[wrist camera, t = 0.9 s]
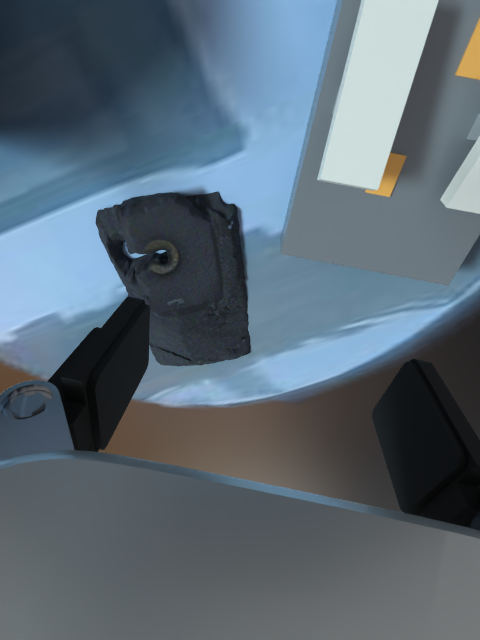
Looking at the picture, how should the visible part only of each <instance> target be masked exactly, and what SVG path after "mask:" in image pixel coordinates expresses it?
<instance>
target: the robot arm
mask: <svg viewBox="0 0 480 640" xmlns="http://www.w3.org/2000/svg"><path fill="white" fill-rule="evenodd" d="M149 330H150V306H149V305H147V304H146V303H145V300H143V299H138V298H134V297H127V298H126V299H125V300H124V301H123V302H122V304H121V305H120V306H119V307H118V308H117V310H116V311H115V312H114V313H113V314H112V316H111V317H110V318H109V319H108V320H107V322H106V323H105V324H104V325H103V327H102V328H98V327H97V328H94V329H93V330H92V331H91V332H90V333H89V334H88V335H87V336H86V338H85V339H84V340H83V341H82V342H81V343H80V344H79V346H78V347H77V348H76V349H75V350H74V351H73V353H72V354H71V355H70V356H69V357H68V358H67V359H66V361H65V362H64V363H63V364H62V365H61V366H60V368H59V369H58V370H57V371H56V372H55V373H54V374H53V376H52V377H51V378H50V379H49V380H48V381H43V380H32V381H26V382H22V383H19V384H16V385H14V386H12V387H10V388H8V389H7V390H5V391H4V392H3V393H2V394H1V395H0V640H480V440H479V439H478V437H477V436H476V434H475V432H474V430H473V429H472V427H471V426H470V424H469V422H468V421H467V419H466V417H465V416H464V414H463V413H462V411H461V409H460V408H459V406H458V405H457V403H456V401H455V400H454V398H453V396H452V395H451V393H450V392H449V390H448V388H447V387H446V385H445V384H444V382H443V380H442V379H441V377H440V376H439V374H438V372H437V371H436V369H435V367H434V366H433V364H432V363H430V362H426V361H421V360H417V359H412V360H410V361H409V362H406V363H404V365H403V366H402V368H401V369H400V371H399V372H398V374H397V375H396V376H395V378H394V379H393V381H392V383H391V384H390V385H389V387H388V388H387V390H386V391H385V393H384V394H383V396H382V397H381V399H380V400H379V402H378V403H377V405H376V406H375V408H374V409H373V412H372V419H373V422H374V426H375V429H376V432H377V435H378V438H379V441H380V445H381V448H382V451H383V455H384V458H385V461H386V464H387V468H388V471H389V474H390V477H391V480H392V484H393V487H394V490H395V493H396V497H397V500H398V503H399V506H400V509H401V510H402V511H403V512H404V513H401V512H397V511H392V510H387V509H383V508H378V507H373V506H369V505H363V504H359V503H354V502H350V501H345V500H340V499H336V498H330V497H325V496H321V495H316V494H312V493H307V492H302V491H297V490H292V489H288V488H283V487H278V486H273V485H268V484H263V483H258V482H253V481H249V480H244V479H239V478H234V477H229V476H224V475H219V474H214V473H209V472H205V471H199V470H195V469H189V468H184V467H179V466H175V465H170V464H164V463H159V462H153V461H148V460H143V459H137V458H132V457H127V456H121V455H115V454H108V453H100V452H98V450H99V449H101V450H104V449H105V448H106V446H107V445H108V443H109V441H110V439H111V437H112V435H113V433H114V431H115V429H116V427H117V425H118V423H119V421H120V420H121V418H122V416H123V414H124V412H125V410H126V408H127V406H128V404H129V402H130V400H131V398H132V396H133V395H134V393H135V391H136V389H137V387H138V385H139V383H140V381H141V379H142V377H143V375H144V373H145V371H146V369H147V366H148V362H149Z"/></svg>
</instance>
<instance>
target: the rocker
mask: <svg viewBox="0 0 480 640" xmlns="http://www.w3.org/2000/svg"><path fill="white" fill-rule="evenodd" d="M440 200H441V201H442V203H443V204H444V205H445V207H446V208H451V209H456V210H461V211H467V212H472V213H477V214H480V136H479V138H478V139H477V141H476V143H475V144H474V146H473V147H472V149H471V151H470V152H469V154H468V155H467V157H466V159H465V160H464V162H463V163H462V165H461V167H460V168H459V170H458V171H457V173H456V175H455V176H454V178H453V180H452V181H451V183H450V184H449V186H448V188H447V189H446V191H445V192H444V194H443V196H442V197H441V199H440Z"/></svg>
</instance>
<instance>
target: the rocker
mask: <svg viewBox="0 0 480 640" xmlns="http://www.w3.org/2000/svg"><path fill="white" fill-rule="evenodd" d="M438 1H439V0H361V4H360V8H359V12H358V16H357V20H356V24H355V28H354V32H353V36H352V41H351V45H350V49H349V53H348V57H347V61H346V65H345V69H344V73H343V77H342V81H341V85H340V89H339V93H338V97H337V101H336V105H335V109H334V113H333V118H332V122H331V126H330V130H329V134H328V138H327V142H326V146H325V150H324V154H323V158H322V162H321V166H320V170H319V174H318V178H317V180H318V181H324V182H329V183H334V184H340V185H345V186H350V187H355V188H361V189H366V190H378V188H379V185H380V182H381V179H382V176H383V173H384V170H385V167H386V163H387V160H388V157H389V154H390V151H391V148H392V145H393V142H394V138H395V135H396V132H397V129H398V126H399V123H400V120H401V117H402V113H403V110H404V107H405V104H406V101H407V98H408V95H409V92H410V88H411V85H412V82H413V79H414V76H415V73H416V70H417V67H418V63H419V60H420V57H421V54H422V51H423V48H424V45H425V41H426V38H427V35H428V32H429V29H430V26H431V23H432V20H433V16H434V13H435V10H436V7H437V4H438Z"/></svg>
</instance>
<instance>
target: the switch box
mask: <svg viewBox="0 0 480 640" xmlns="http://www.w3.org/2000/svg"><path fill="white" fill-rule="evenodd" d="M360 4H361V0H337V4H336V8H335V12H334V17H333V21H332V25H331V29H330V33H329V38H328V42H327V46H326V50H325V54H324V59H323V63H322V67H321V71H320V75H319V80H318V84H317V88H316V92H315V97H314V101H313V105H312V109H311V113H310V118H309V122H308V126H307V130H306V134H305V139H304V143H303V147H302V151H301V155H300V160H299V164H298V168H297V172H296V176H295V181H294V185H293V189H292V193H291V197H290V202H289V206H288V210H287V214H286V219H285V223H284V227H283V231H282V235H281V254H285V255H290V256H295V257H301V258H306V259H311V260H316V261H322V262H327V263H332V264H338V265H343V266H348V267H353V268H359V269H364V270H369V271H374V272H380V273H385V274H390V275H396V276H401V277H406V278H411V279H417V280H422V281H427V282H433V283H438V284H443V285H448V286H449V284H450V282H451V281H452V279H453V277H454V276H455V274H456V273H457V271H458V269H459V268H460V266H461V264H462V263H463V261H464V259H465V258H466V256H467V255H468V253H469V251H470V250H471V248H472V246H473V245H474V243H475V241H476V240H477V238H478V237H479V235H480V214H477V213H472V212H467V211H461V210H456V209H451V208H446V207H445V205H444V204H443V203H442V201H441V200H440V199H441V197H442V196H443V194H444V192H445V191H446V189H447V188H448V186H449V184H450V183H451V181H452V180H453V178H454V176H455V175H456V173H457V171H458V170H459V168H460V167H461V165H462V163H463V162H464V160H465V159H466V157H467V155H468V154H469V152H470V151H471V149H472V147H473V146H474V144H475V143H476V141H477V139H478V138H479V136H480V0H439V1H438V4H437V7H436V10H435V13H434V16H433V20H432V23H431V26H430V29H429V32H428V35H427V38H426V41H425V45H424V48H423V51H422V54H421V57H420V60H419V63H418V67H417V70H416V73H415V76H414V79H413V82H412V85H411V88H410V92H409V95H408V98H407V101H406V104H405V107H404V110H403V113H402V117H401V120H400V123H399V126H398V129H397V132H396V135H395V138H394V142H393V145H392V148H391V151H390V154H389V157H388V160H387V163H386V167H385V170H384V173H383V176H382V179H381V182H380V185H379V188H378V190H366V189H361V188H355V187H350V186H345V185H340V184H334V183H329V182H324V181H318V180H317V178H318V174H319V170H320V166H321V162H322V158H323V154H324V150H325V146H326V142H327V138H328V134H329V130H330V126H331V122H332V118H333V113H334V109H335V105H336V101H337V97H338V93H339V89H340V85H341V81H342V77H343V73H344V69H345V65H346V61H347V57H348V53H349V49H350V45H351V41H352V36H353V32H354V28H355V24H356V20H357V16H358V12H359V8H360Z"/></svg>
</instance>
